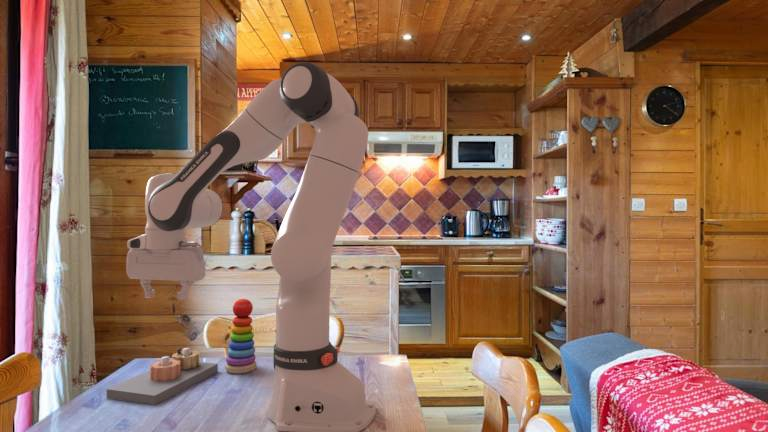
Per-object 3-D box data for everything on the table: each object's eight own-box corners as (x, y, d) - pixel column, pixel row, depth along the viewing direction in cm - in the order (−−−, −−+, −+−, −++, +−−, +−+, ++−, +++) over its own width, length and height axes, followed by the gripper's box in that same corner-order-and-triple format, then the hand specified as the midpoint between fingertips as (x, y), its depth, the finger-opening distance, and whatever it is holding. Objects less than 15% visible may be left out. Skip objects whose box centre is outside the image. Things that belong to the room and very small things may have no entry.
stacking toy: (247, 375, 117) (247, 302, 117) (219, 373, 119) (219, 301, 119) (261, 365, 125) (262, 297, 125) (234, 363, 127) (235, 295, 127)
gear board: (217, 371, 121) (217, 346, 121) (154, 404, 99) (154, 374, 99) (175, 366, 124) (176, 342, 124) (106, 398, 103) (106, 369, 103)
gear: (205, 362, 121) (205, 346, 121) (188, 370, 114) (188, 354, 114) (184, 360, 123) (184, 344, 123) (166, 368, 116) (166, 351, 116)
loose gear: (186, 372, 114) (186, 360, 114) (167, 382, 107) (167, 369, 107) (164, 370, 115) (164, 358, 115) (143, 379, 109) (143, 366, 109)
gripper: (211, 241, 111) (211, 298, 111) (141, 240, 117) (141, 294, 117) (193, 242, 105) (193, 303, 105) (121, 241, 111) (121, 298, 111)
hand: (165, 298), depth 111 cm, fingers open, 8 cm apart
